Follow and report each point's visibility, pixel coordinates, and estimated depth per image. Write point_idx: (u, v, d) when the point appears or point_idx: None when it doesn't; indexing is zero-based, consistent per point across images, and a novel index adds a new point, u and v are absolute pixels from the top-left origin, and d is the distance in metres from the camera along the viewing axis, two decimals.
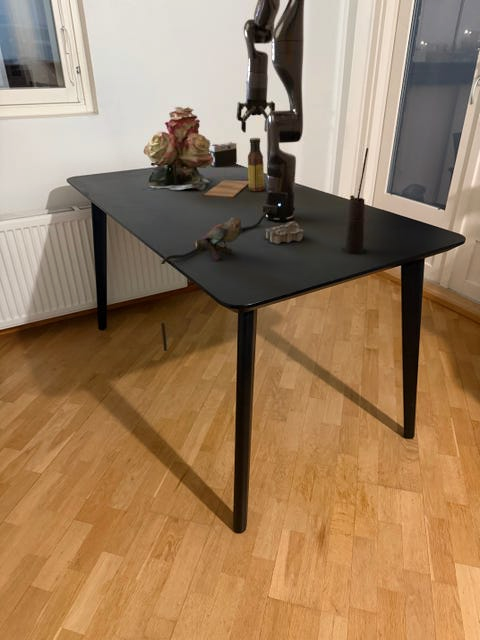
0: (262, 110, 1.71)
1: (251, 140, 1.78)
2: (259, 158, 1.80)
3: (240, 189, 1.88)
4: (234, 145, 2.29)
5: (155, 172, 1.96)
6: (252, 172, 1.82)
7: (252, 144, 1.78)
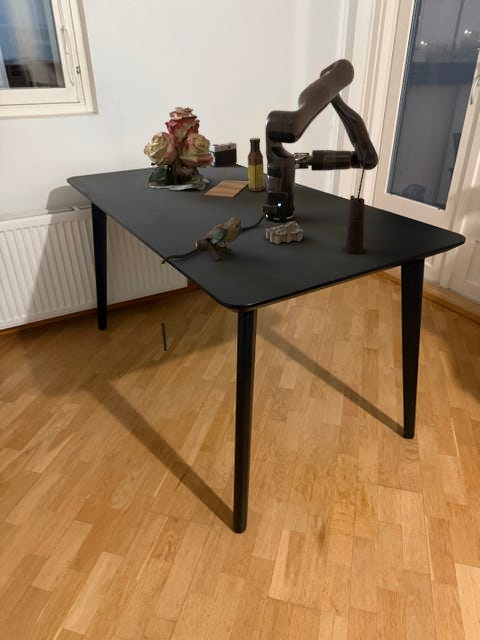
0: None
1: (251, 140, 1.78)
2: (259, 158, 1.80)
3: (240, 189, 1.88)
4: (234, 145, 2.29)
5: (155, 172, 1.96)
6: (252, 172, 1.82)
7: (252, 144, 1.78)
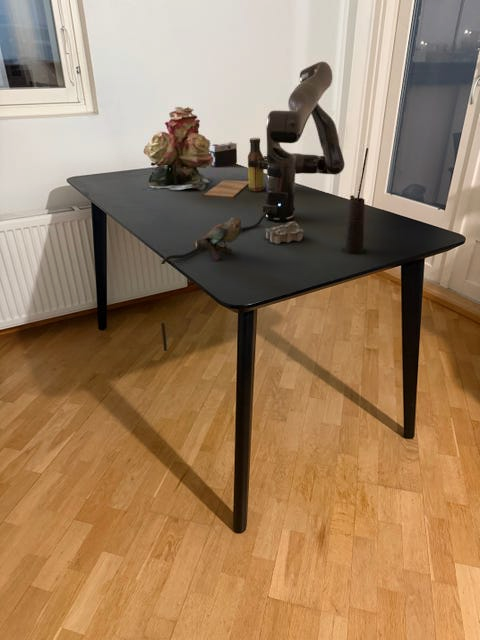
0: None
1: (251, 140, 1.78)
2: (259, 158, 1.80)
3: (240, 189, 1.88)
4: (234, 145, 2.29)
5: (155, 172, 1.96)
6: (252, 172, 1.82)
7: (252, 144, 1.78)
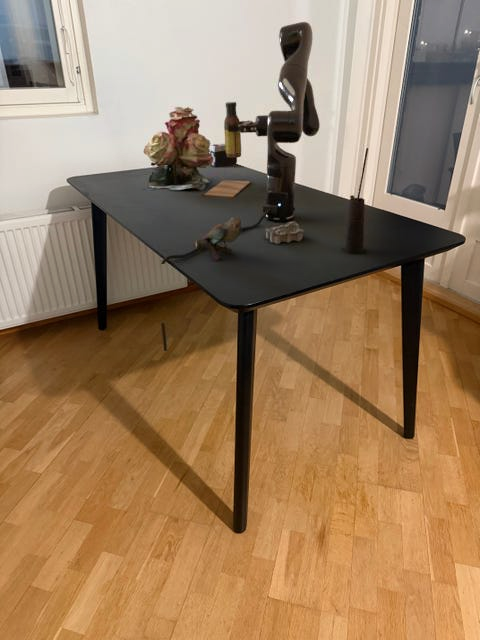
0: None
1: (228, 104, 1.73)
2: (238, 122, 1.77)
3: (240, 189, 1.88)
4: None
5: (155, 172, 1.96)
6: (232, 137, 1.78)
7: (230, 108, 1.74)
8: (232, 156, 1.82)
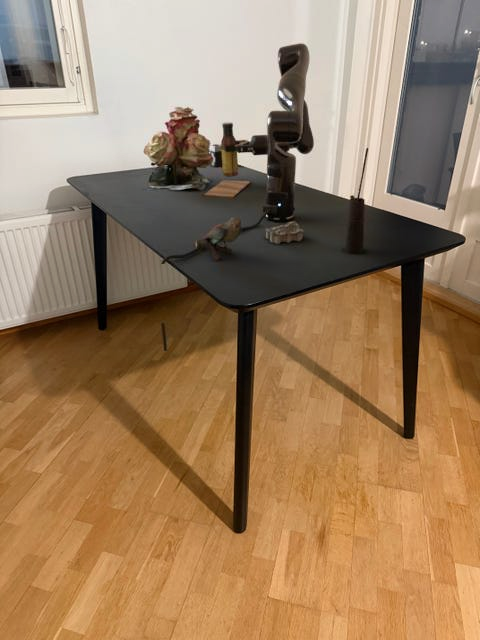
0: None
1: (225, 125, 1.77)
2: (234, 142, 1.81)
3: (240, 189, 1.88)
4: None
5: (155, 172, 1.96)
6: (229, 157, 1.82)
7: (226, 129, 1.78)
8: (229, 175, 1.86)
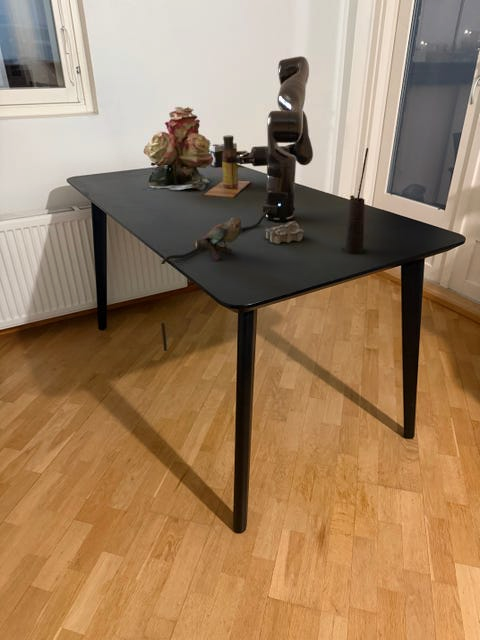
0: None
1: (226, 138, 1.80)
2: (235, 155, 1.83)
3: (240, 189, 1.88)
4: (234, 145, 2.29)
5: (155, 172, 1.96)
6: (229, 169, 1.84)
7: (227, 142, 1.80)
8: (229, 187, 1.88)
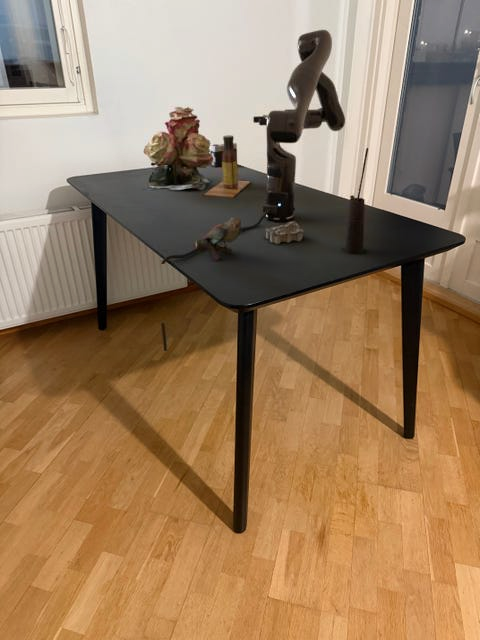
0: None
1: (226, 138, 1.80)
2: (235, 155, 1.83)
3: (240, 189, 1.88)
4: (234, 145, 2.29)
5: (155, 172, 1.96)
6: (229, 169, 1.84)
7: (227, 142, 1.80)
8: (229, 187, 1.88)
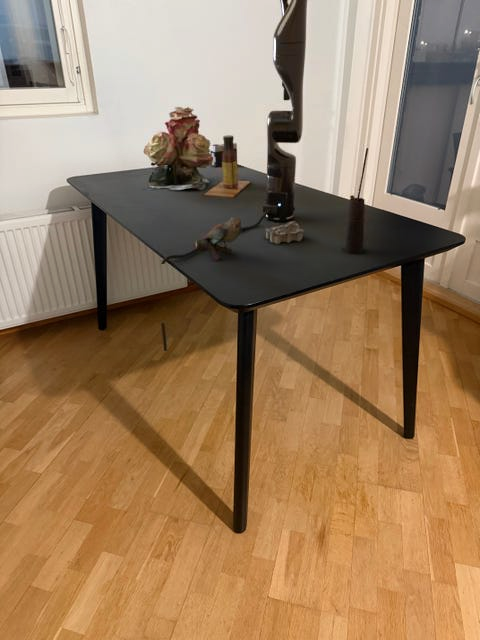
0: None
1: (226, 138, 1.80)
2: (235, 155, 1.83)
3: (240, 189, 1.88)
4: (234, 145, 2.29)
5: (155, 172, 1.96)
6: (229, 169, 1.84)
7: (227, 142, 1.80)
8: (229, 187, 1.88)
